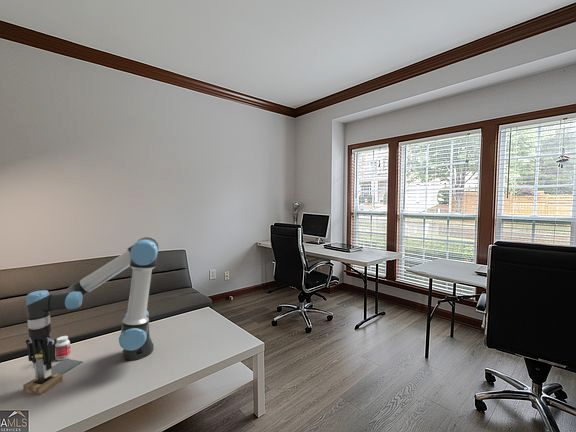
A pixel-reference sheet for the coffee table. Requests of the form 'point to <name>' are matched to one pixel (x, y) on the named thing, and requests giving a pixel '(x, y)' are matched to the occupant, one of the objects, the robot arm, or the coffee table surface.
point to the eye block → (39, 389)
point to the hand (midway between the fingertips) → (43, 375)
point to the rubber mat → (64, 366)
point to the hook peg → (40, 368)
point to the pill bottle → (62, 348)
